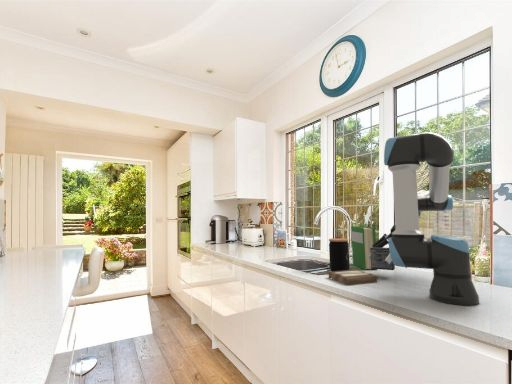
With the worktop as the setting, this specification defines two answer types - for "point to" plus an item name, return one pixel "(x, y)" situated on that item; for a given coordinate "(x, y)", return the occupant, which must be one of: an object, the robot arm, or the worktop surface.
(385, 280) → the worktop surface
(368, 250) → the hardback book
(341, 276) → the walnut stand
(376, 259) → the small box
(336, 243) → the coffee jar
